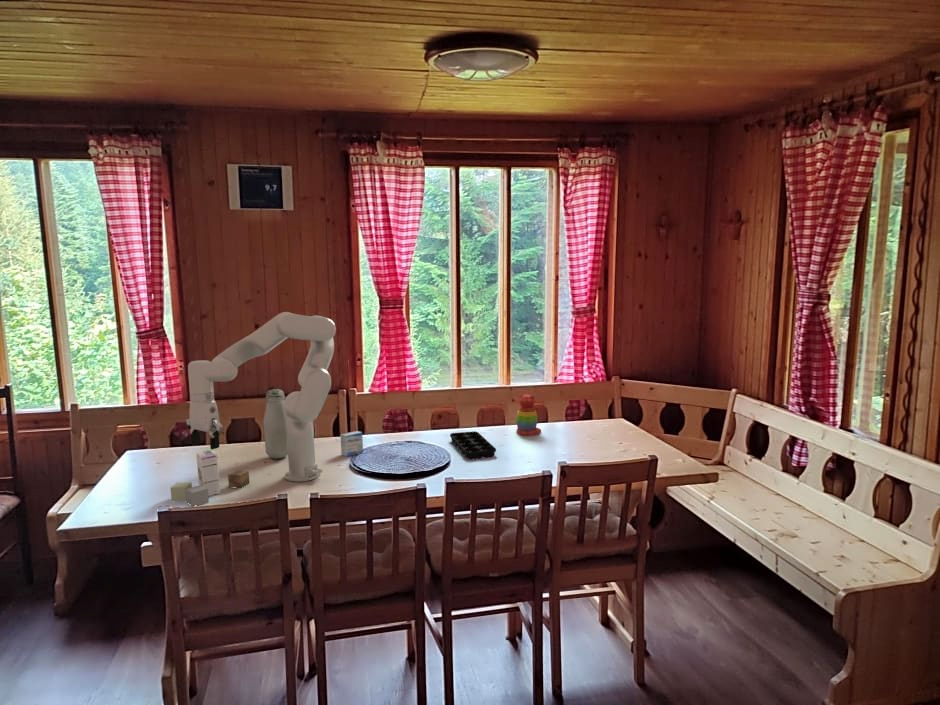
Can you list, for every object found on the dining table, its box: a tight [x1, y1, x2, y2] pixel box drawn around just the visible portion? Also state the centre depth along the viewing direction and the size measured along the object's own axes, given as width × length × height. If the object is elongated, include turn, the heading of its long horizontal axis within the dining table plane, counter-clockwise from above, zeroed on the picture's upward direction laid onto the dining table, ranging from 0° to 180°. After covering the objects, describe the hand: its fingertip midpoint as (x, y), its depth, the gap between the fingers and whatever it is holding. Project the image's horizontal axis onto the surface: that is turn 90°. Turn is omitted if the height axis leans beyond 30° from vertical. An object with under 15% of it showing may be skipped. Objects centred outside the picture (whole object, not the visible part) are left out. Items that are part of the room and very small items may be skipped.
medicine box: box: [339, 430, 364, 458], centre depth 272 cm, size 8×4×9 cm, turn 131°
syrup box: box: [196, 449, 221, 497], centre depth 229 cm, size 6×6×14 cm
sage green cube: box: [170, 481, 193, 502], centre depth 225 cm, size 5×5×5 cm
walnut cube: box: [227, 469, 251, 489], centre depth 237 cm, size 5×5×5 cm
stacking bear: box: [515, 393, 542, 437], centre depth 296 cm, size 11×10×18 cm
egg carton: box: [449, 431, 497, 461], centre depth 276 cm, size 18×30×4 cm, turn 28°
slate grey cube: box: [186, 484, 210, 507], centre depth 221 cm, size 5×5×5 cm
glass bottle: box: [263, 388, 288, 460], centre depth 266 cm, size 10×10×28 cm
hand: (205, 446), depth 227 cm, fingers open, 9 cm apart
